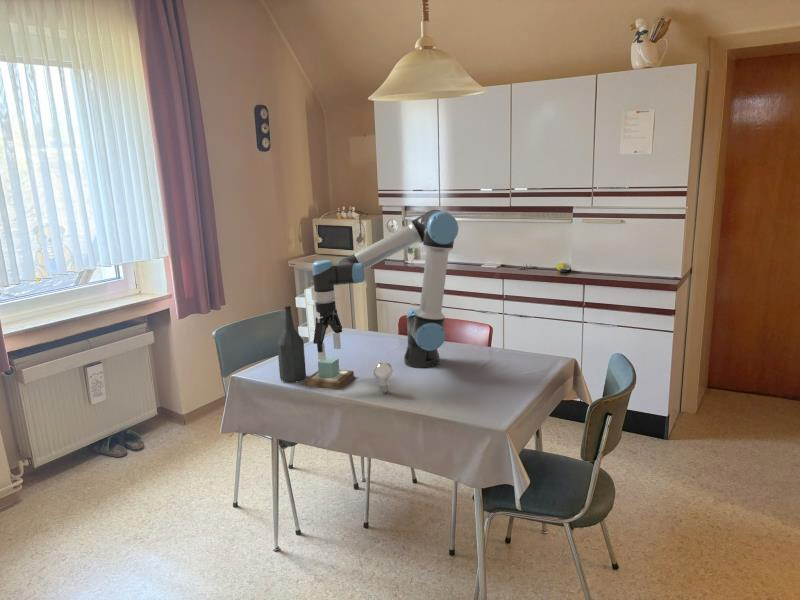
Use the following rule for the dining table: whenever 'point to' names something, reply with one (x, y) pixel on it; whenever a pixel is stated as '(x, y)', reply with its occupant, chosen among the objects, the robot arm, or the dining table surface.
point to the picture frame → (330, 380)
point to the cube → (328, 367)
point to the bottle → (291, 352)
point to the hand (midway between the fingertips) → (330, 354)
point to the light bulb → (383, 375)
